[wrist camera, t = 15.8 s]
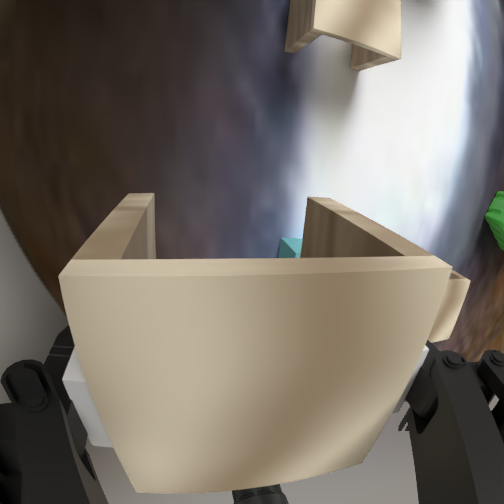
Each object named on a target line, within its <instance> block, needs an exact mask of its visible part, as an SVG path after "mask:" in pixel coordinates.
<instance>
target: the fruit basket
mask: <svg viewBox="0 0 504 504" xmlns="http://www.w3.org/2000/svg"><path fill="white" fill-rule="evenodd" d="M485 219H486V221H487V223H489V227H490V229H491V231H492V232H493V235H494V237H495V239H496V240H497V243H498V245H499V247H500V248H501V249H502V250H503V251H504V191H498V192H497V193H496V196H495V198H494V199H493V201H492V203H491V205H490V207H489V209H488V212H487V213H486V214H485Z"/></svg>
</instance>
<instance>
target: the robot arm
mask: <svg viewBox="0 0 504 504" xmlns="http://www.w3.org/2000/svg"><path fill="white" fill-rule="evenodd" d="M1 383H2V385H3V387H4V389H5V391H6V393H7V395H8V397H9V398H10V400H11V402H12V403H6V404H0V504H108V501H107V499H106V497H105V495H104V492H103V490H102V488H101V485H100V483H99V480H98V478H97V475H96V472H95V470H94V467H93V464H92V462H91V459H90V456H89V454H88V452H87V451H86V449H85V445H86V440H87V436H88V438H89V439H90V441H91V443H92V445H93V446H101V447H113V446H112V443H111V441H110V439H109V437H108V435H107V432H106V430H105V428H104V426H103V423H102V421H101V418H100V416H99V414H98V411H97V409H96V406H95V404H94V401H93V398H92V396H91V393H90V390H89V387H88V385H87V382H86V379H85V376H84V373H83V370H82V367H81V364H80V361H79V358H78V354H77V351H76V348H75V344H74V341H73V337H72V333H71V330H70V326H67V327H66V328H65V329H64V330H63V331H62V332H61V333H59V334H58V336H57V338H56V340H55V342H54V344H53V347H52V348H51V350H50V352H49V355H48V357H47V359H46V361H45V363H44V364H42V363H41V362H39V361H36V360H22V361H19V362H16V363H14V364H13V365H11V366H9V367H8V368H7V369H6V371H5V372H4V373H3V375H2V378H1ZM495 395H496V396H497V397H498V399H499V401H498V403H497V405H496V406H495V407H494V409H493V410H492V411H491V410H490V408H489V406H488V405H489V404H490V402H491V400H492V399H493V397H494V396H495ZM405 399H406V401H407V402H408V403H409V404H410V408H409V409H408V411H407V413H406V415H405V416H404V418H403V420H402V421H401V423H400V425H399V429H398V430H399V431H401V430H402V428H403V427H404V425H405V424H406V422H408V426H407V427H406V430H405V431H409V433H410V439H411V445H412V451H413V458H414V465H415V472H416V481H417V490H418V499H419V504H504V354H503V353H501V352H500V351H496V350H487V351H485V352H484V353H483V355H482V357H481V359H480V361H479V362H467V360H466V359H465V358H464V357H463V356H461V355H460V354H458V353H456V352H453V351H448V350H446V351H439V350H438V349H437V348H436V347H435V346H434V345H433V344H432V343H431V342H430V341H429V340H427V342H426V344H425V346H424V349H423V351H422V354H421V356H420V358H419V360H418V363H417V365H416V367H415V369H414V371H413V373H412V376H411V378H410V380H409V382H408V384H407V386H406V388H405V390H404V392H403V394H402V396H401V398H400V400H399V402H398V403H397V405H396V407H395V409H394V411H393V413H396V412H398V411H399V410H400V408H401V407H402V405H403V403H404V401H405ZM393 413H392V414H393Z"/></svg>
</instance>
